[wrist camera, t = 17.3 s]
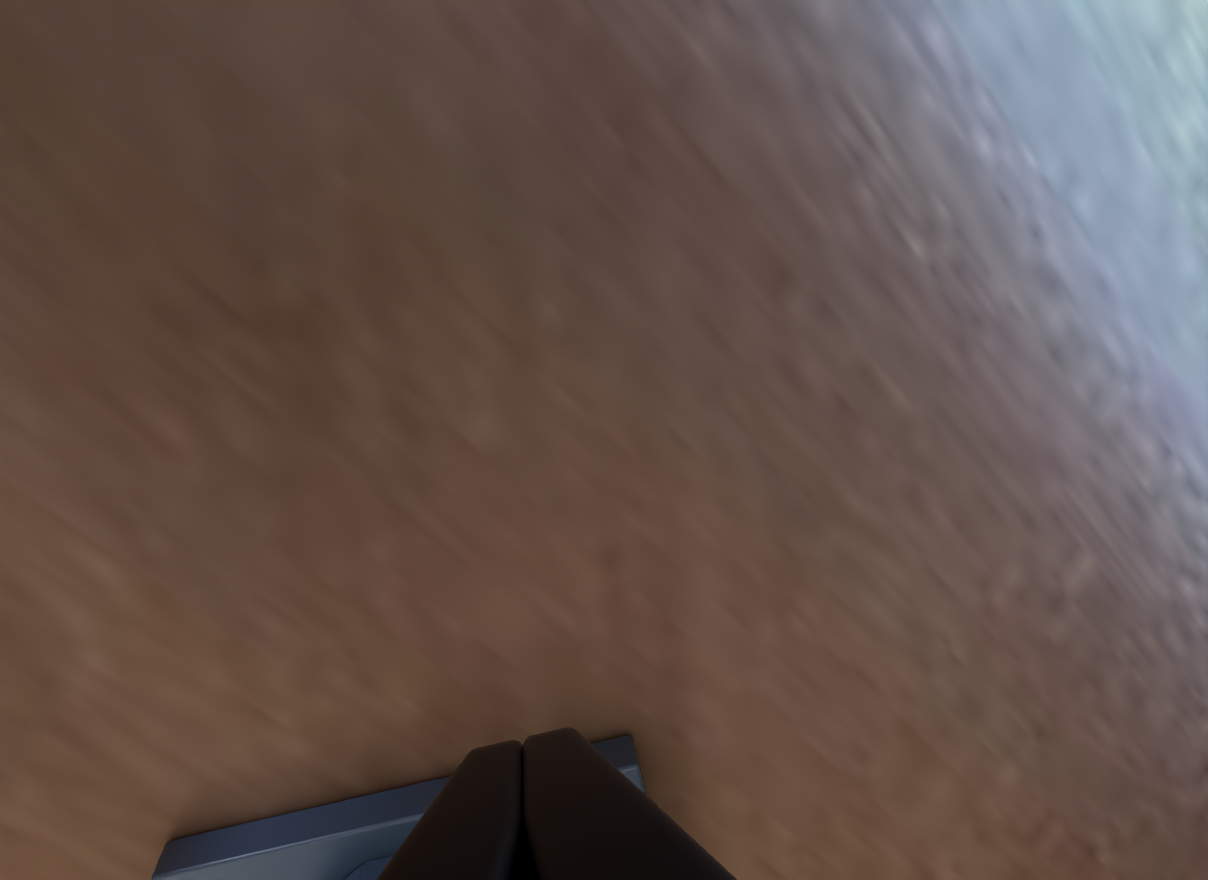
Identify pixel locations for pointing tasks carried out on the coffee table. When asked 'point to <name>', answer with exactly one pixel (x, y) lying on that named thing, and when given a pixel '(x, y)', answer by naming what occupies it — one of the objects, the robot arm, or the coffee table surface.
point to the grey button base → (328, 835)
